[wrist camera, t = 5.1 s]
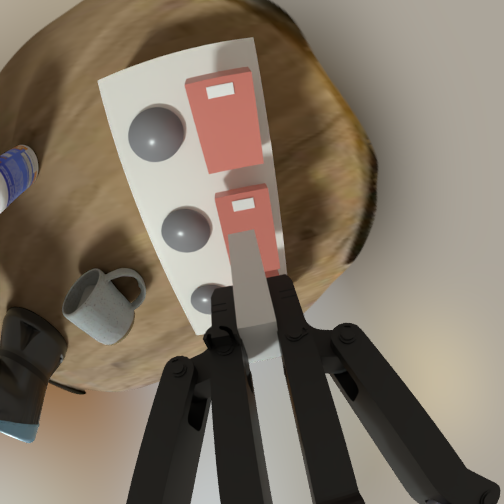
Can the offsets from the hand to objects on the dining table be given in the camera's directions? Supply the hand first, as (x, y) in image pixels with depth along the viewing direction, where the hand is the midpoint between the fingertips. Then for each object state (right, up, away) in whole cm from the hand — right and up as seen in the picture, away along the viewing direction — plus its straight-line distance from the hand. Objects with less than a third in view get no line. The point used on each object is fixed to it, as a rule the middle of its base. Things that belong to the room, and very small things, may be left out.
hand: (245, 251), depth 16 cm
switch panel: (-3, +4, +13) cm, 14 cm away
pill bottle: (-26, +10, +6) cm, 28 cm away
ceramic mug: (-19, -4, +18) cm, 26 cm away
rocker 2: (0, +2, +6) cm, 6 cm away
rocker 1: (-1, +9, +1) cm, 9 cm away
